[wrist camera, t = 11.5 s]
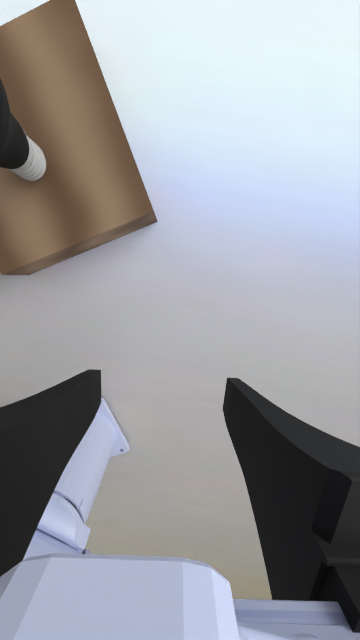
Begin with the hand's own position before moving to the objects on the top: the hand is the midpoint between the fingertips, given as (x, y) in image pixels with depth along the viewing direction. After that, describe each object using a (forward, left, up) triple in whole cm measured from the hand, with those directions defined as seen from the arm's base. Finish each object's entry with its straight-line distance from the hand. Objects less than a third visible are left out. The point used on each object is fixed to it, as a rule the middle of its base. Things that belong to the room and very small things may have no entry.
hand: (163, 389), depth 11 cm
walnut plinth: (-4, +18, -10) cm, 21 cm away
